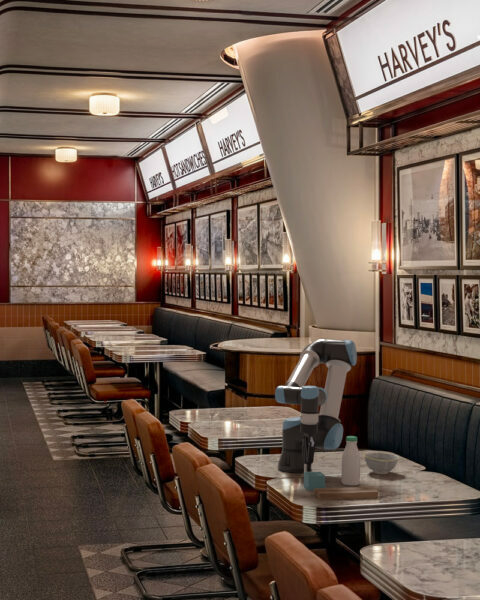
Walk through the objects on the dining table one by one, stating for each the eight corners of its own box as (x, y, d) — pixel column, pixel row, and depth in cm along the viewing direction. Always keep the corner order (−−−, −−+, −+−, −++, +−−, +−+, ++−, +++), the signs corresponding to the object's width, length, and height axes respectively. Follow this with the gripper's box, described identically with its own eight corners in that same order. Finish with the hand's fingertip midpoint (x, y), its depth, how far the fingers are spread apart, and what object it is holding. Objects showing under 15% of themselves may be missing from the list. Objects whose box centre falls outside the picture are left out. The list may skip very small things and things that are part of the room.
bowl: (404, 472, 397) (404, 455, 397) (390, 478, 384) (391, 461, 384) (371, 467, 406) (372, 450, 406) (356, 473, 393) (357, 456, 392)
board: (313, 494, 352) (314, 488, 352) (370, 493, 357) (370, 486, 357) (319, 499, 344) (320, 493, 344) (378, 498, 349) (378, 491, 349)
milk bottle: (359, 486, 367) (360, 438, 367) (340, 485, 369) (341, 437, 368) (360, 482, 375) (361, 435, 374) (342, 481, 377) (343, 434, 376)
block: (303, 486, 366) (304, 472, 366) (319, 486, 368) (320, 471, 367) (308, 490, 359) (308, 476, 359) (324, 490, 361) (325, 475, 361)
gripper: (296, 420, 377) (294, 475, 378) (304, 425, 365) (303, 482, 365) (313, 420, 379) (311, 475, 379) (322, 425, 366) (320, 482, 367)
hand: (307, 478), depth 372 cm, fingers closed
